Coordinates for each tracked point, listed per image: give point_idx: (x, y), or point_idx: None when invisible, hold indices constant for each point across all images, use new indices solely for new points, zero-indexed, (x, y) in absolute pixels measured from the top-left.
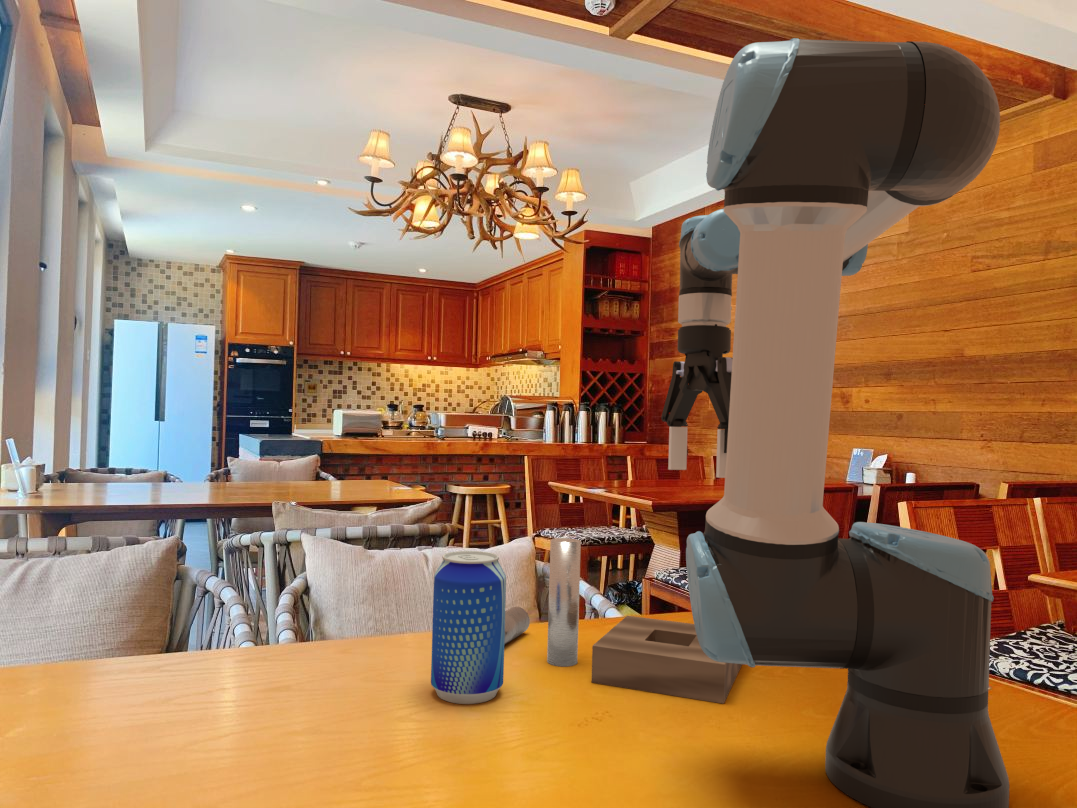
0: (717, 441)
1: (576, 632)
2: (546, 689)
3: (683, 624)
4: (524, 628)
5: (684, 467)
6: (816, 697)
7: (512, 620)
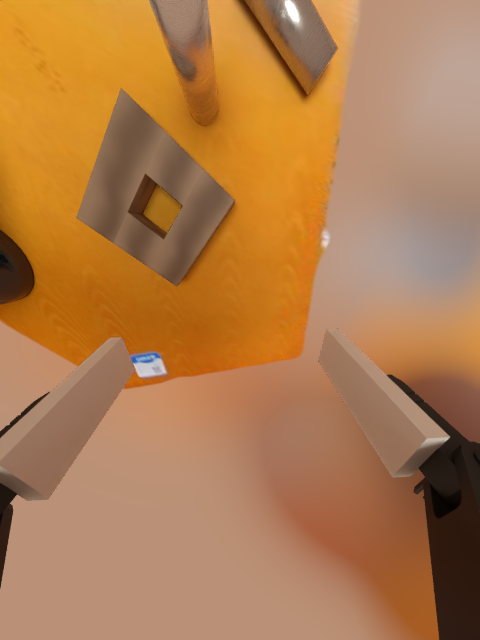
0: (46, 410)
1: (186, 98)
2: (117, 34)
3: (197, 244)
4: (298, 80)
5: (321, 360)
6: (118, 289)
7: (286, 30)
